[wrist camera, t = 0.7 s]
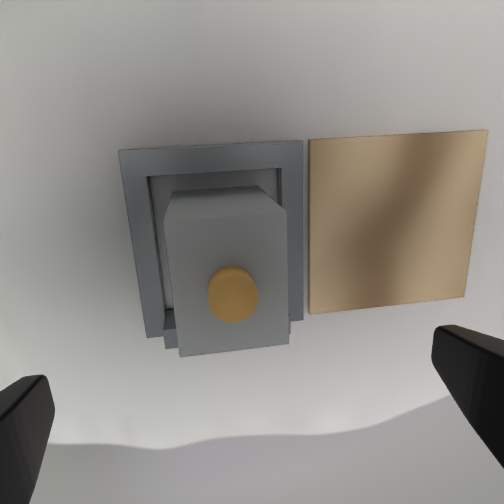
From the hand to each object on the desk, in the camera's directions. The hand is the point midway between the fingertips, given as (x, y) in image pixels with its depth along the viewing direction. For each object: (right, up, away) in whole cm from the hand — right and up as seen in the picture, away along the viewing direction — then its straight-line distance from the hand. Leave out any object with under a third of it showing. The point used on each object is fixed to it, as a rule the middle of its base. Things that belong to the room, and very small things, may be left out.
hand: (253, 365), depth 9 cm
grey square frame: (-2, +3, +10) cm, 11 cm away
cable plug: (-2, +3, +10) cm, 11 cm away
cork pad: (+7, +4, +11) cm, 14 cm away
